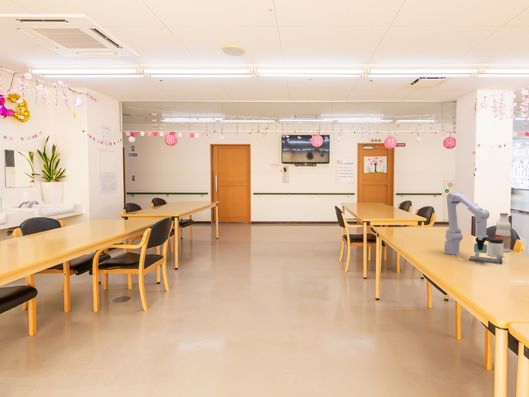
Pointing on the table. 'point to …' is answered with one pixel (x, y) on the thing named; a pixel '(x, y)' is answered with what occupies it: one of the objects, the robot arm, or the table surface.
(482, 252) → the block
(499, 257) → the vise
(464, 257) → the table surface
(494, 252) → the jar
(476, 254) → the jaw
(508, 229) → the fruit juice
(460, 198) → the robot arm
